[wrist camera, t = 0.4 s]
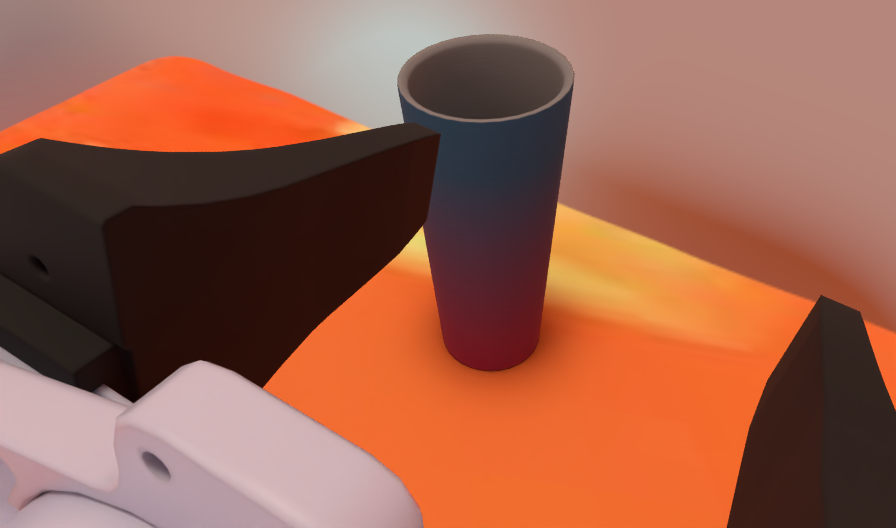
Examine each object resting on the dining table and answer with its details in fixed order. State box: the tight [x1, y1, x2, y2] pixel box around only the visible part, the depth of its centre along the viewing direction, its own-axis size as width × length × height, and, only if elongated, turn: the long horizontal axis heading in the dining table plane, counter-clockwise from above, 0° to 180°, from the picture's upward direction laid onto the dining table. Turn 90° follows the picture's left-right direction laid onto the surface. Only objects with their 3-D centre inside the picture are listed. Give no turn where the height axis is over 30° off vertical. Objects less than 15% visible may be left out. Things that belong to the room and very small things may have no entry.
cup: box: [397, 34, 574, 371], centre depth 33 cm, size 7×7×15 cm
